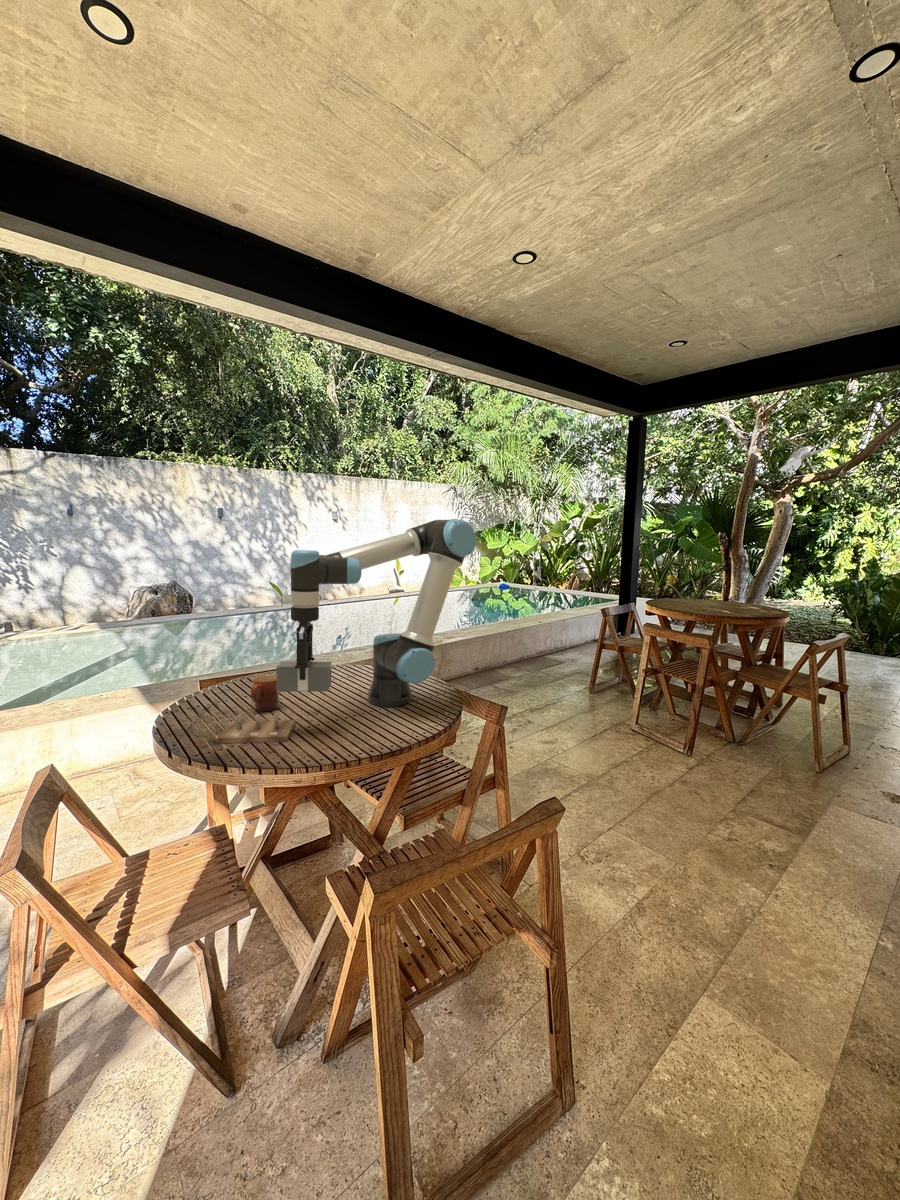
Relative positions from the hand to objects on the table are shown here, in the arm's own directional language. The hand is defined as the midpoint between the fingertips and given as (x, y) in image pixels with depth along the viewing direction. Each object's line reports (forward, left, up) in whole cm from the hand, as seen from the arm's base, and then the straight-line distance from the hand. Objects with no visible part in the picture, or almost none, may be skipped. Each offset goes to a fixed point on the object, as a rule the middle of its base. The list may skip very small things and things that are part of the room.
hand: (304, 686), depth 138 cm
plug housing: (0, 0, 0) cm, 0 cm away
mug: (+16, -18, -13) cm, 28 cm away
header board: (+13, +1, -13) cm, 19 cm away
